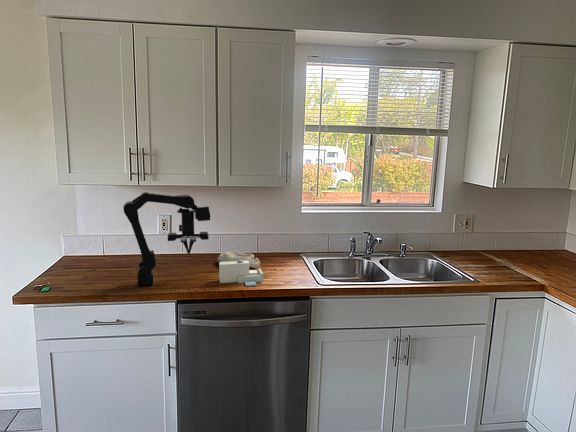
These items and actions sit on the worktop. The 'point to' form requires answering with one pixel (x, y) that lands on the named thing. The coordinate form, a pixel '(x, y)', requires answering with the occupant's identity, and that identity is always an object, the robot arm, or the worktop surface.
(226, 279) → the white stepped block
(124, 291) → the worktop surface
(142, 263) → the robot arm
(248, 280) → the cradle
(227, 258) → the sculpture
